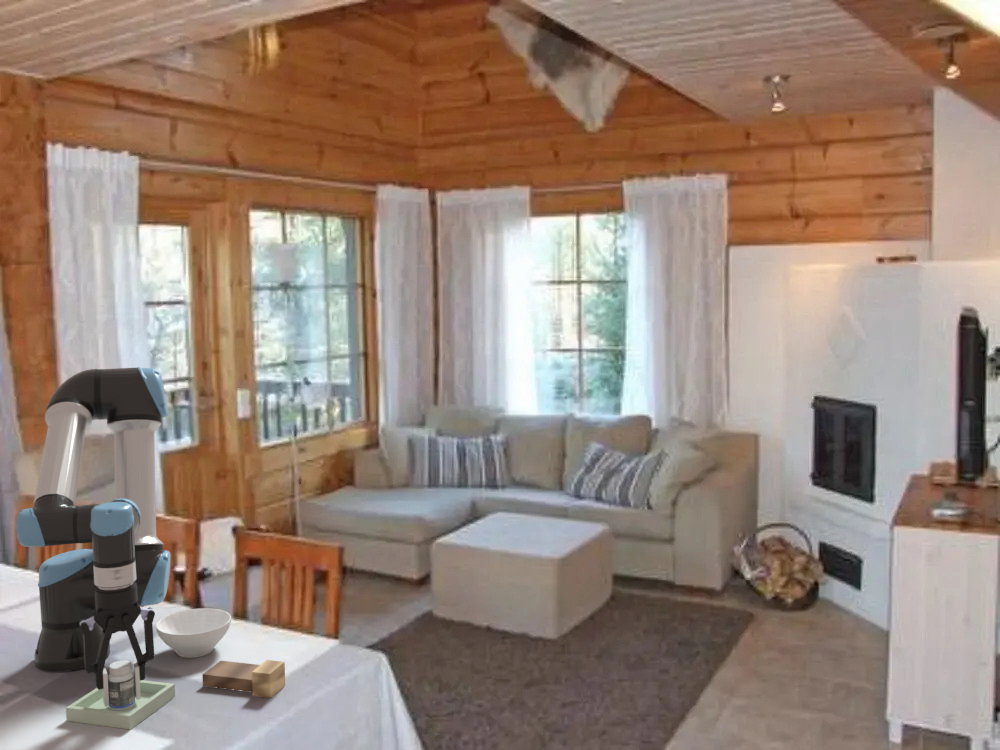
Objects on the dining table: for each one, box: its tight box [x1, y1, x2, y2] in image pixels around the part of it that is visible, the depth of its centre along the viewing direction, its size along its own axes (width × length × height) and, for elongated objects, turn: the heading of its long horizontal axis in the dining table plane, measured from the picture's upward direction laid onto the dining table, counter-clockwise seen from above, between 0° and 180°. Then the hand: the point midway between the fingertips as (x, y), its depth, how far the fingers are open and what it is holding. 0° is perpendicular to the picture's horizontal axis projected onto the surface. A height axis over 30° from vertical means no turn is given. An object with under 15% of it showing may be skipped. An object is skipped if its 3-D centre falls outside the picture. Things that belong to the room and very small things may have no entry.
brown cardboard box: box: [202, 660, 261, 693], centre depth 193 cm, size 12×7×3 cm, turn 76°
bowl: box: [155, 607, 232, 659], centre depth 208 cm, size 16×16×7 cm
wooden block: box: [252, 659, 286, 699], centre depth 188 cm, size 4×6×5 cm, turn 165°
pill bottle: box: [108, 660, 135, 711], centre depth 181 cm, size 5×5×8 cm
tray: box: [65, 680, 176, 730], centre depth 181 cm, size 14×14×3 cm
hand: (121, 699), depth 181 cm, fingers open, 5 cm apart
